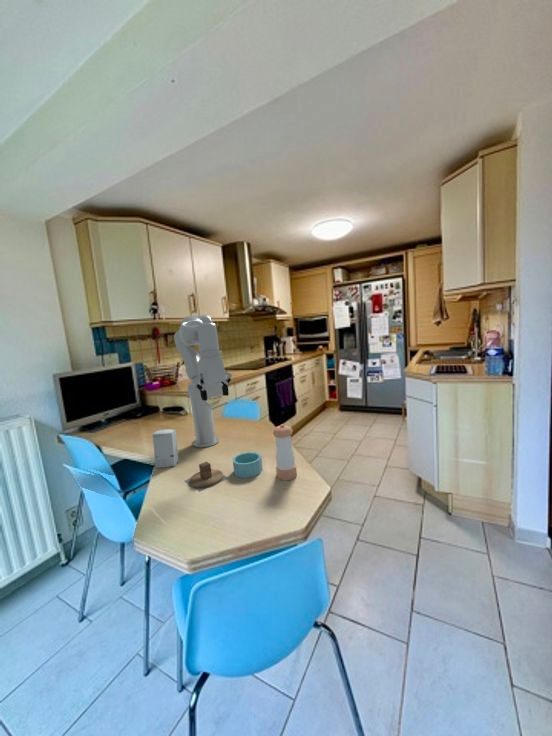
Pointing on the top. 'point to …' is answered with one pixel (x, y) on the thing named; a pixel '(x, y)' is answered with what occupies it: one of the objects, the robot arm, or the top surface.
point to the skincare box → (165, 448)
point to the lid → (206, 476)
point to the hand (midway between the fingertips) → (215, 397)
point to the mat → (205, 487)
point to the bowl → (247, 464)
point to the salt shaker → (284, 453)
